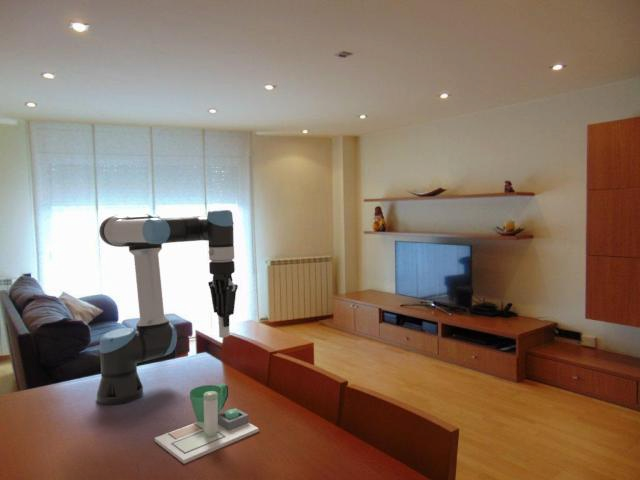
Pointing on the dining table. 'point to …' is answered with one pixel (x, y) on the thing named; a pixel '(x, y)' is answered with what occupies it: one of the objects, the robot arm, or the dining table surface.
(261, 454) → the dining table surface
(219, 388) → the mug
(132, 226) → the robot arm
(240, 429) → the board
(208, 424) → the marker
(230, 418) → the button
